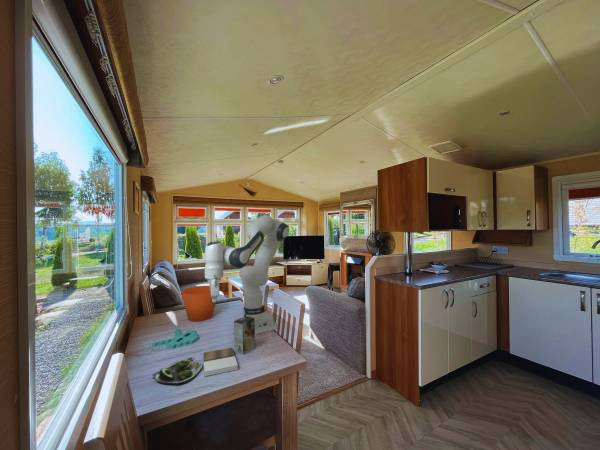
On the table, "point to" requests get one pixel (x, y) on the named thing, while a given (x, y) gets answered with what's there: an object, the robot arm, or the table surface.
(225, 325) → the table surface
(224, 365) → the grey plank
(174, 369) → the salad plate
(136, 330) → the table surface
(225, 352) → the walnut board
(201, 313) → the flowerpot
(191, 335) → the alien figure
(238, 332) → the coffee box
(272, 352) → the table surface
